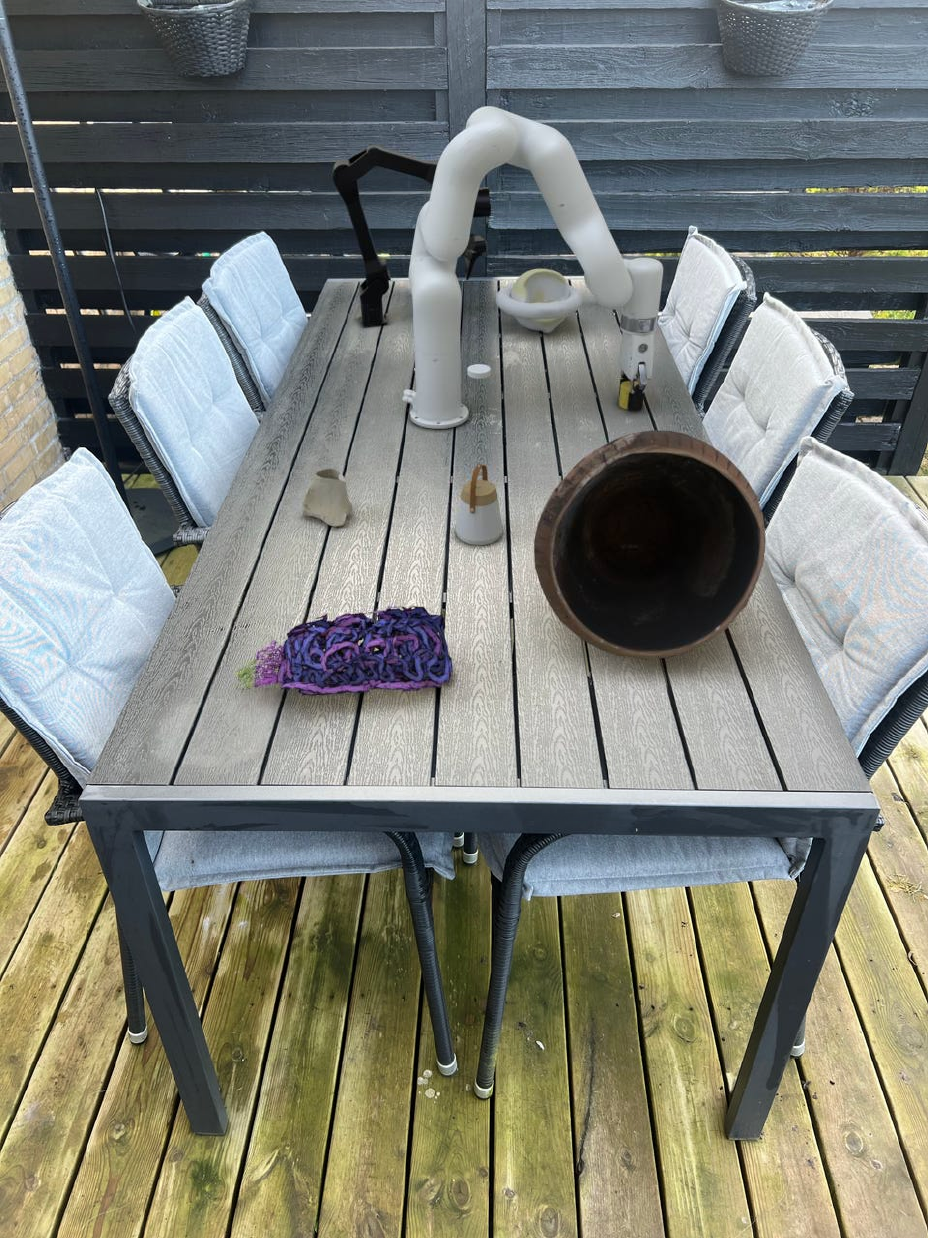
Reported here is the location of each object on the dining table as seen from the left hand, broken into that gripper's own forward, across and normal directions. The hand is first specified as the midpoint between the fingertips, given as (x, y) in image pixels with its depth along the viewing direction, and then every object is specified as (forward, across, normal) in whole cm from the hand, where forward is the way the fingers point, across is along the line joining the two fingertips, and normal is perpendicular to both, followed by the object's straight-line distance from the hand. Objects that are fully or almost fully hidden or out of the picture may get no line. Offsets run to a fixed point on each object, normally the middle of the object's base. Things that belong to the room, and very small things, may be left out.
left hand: (450, 281), depth 242 cm
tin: (+10, +21, -65) cm, 69 cm away
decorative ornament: (+10, -58, -136) cm, 148 cm away
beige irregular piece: (+10, -52, -90) cm, 105 cm away
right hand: (+9, +21, -65) cm, 69 cm away
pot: (+10, -12, -132) cm, 133 cm away
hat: (+10, +19, -15) cm, 26 cm away
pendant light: (+10, -28, -104) cm, 108 cm away
